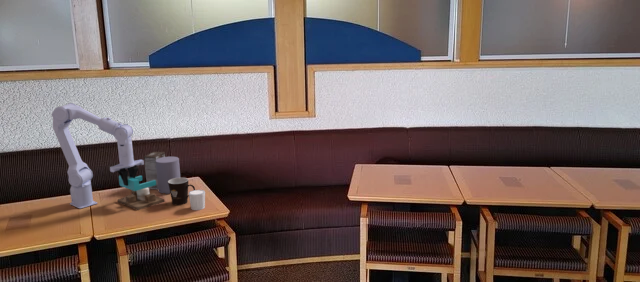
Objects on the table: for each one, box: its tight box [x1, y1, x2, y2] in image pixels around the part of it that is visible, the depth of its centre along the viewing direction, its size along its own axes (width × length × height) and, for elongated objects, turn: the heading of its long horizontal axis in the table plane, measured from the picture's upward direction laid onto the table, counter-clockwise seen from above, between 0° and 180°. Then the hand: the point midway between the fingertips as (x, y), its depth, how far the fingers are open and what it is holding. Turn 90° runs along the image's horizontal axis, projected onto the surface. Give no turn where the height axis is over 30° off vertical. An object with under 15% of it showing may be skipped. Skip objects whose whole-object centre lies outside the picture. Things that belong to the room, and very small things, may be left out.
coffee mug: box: [168, 177, 196, 206], centre depth 226 cm, size 12×9×10 cm
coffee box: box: [143, 151, 166, 190], centre depth 249 cm, size 9×6×16 cm
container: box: [156, 156, 181, 195], centre depth 243 cm, size 10×10×15 cm
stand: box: [117, 187, 165, 211], centre depth 230 cm, size 13×16×6 cm
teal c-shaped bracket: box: [118, 175, 156, 191], centre depth 227 cm, size 10×12×4 cm
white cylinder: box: [188, 189, 206, 211], centre depth 221 cm, size 7×7×7 cm
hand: (129, 184), depth 225 cm, fingers closed on teal c-shaped bracket, 2 cm apart
